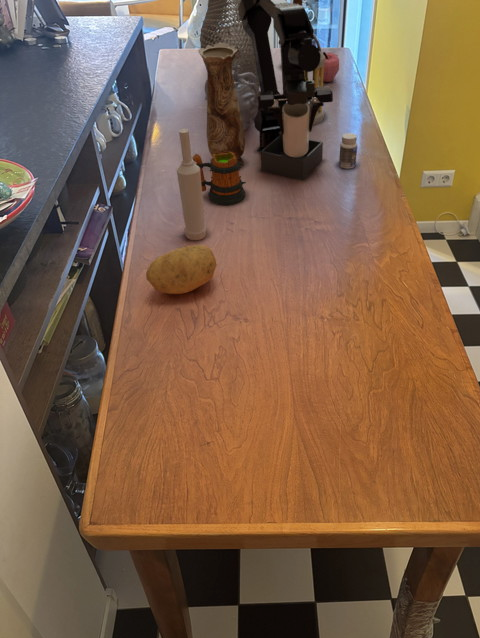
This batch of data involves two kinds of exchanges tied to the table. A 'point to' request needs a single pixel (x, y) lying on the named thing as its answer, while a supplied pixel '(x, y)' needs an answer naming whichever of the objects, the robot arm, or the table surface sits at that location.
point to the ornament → (245, 96)
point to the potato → (182, 269)
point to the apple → (330, 67)
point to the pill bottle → (348, 151)
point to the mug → (223, 178)
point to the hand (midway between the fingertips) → (296, 132)
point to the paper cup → (295, 129)
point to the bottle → (190, 191)
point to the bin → (290, 159)
